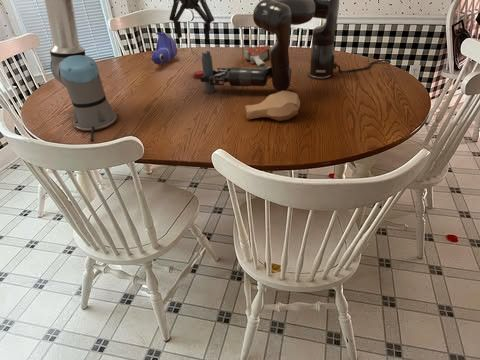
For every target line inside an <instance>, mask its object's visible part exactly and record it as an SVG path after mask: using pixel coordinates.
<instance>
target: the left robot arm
mask: <svg viewBox="0 0 480 360" xmlns="http://www.w3.org/2000/svg"><path fill="white" fill-rule="evenodd" d="M44 3H45V9H46V14H47V19H48V24H49V29H50V35H51V40H52V46H51V47H50V48H49V53H50V59H51V60H50V62H49V66H50V72H51V74H52V76H53V77H54V78H55V79H56V80H57V81H58V82H59V83H60V84H61V85H63V86H64V87H65V88H66V90H67V93H68V95H69V99H70V101H71V104H72V108H73V114H72V117H73V118H72V119H73V125H74V128H75V129H76V131H78V132H84V133H90V142H93V141H94V132H99V131H102V130H105V129H107V128H110V127H111V126H113V125H115V124H116V122H117V121H118V116H117V114H116V111H115V110H114V108H113V107H112V105H111V103H110V102H109V101H108V99H107V96H106V92H105V89H104V87H103V86H104V85H103V83H102V79H101V75H100V71H99V67H98V65H97V63H96V60H95V59H94V58H93V57H91V56H89V55H86V50H85V48H84V47H83V46H82V45H81V44H80V40H79V33H78V28H77V21H76V15H75V8H74V7H75V6H74V2H73V0H44ZM172 3H173V4H172V7H171V10H170V14H169V17H168V18H169V21H171V22H173V25H174V30H175V31H176V36H177V39H180V38H182V37H183V33H182V27H181V26H182V25H181V21H180V18H181V16H182V15H183V13H184V12H185V9H186V10H194V11H196V12H197V14H198V15H199V16H200V18H201V19H202V20H203V22H204V23H203V28H204V40H205V41H208V40H209V39H210V32H211V29H212V28H211V23H213V22H214V21H215V18H214V16H213V14H212V12H211V10H210V8H209V5H208V3H207V0H173V2H172ZM180 3H181V4H180ZM199 3H200V4H199ZM179 4H180V7H179ZM178 7H179V9H178ZM201 7H202V8H201Z"/></svg>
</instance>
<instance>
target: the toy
mask: <svg viewBox="0 0 480 360" xmlns="http://www.w3.org/2000/svg"><path fill="white" fill-rule="evenodd" d="M155 35H156V36H157V35H158V38H157V39H156V45H155V51H151V53H152V54H151V56H150V60H151V61H152V62H153V63H154V64H156V65H157V67H158V68H159V69H161V66H162V64H167V63H169V62H171V61H173V60H174V59H175V57H177V55H178V46H177V43H176V41H175V39H174V38H173V37H172V36H171V35H170V36H168V35H167V34H166V32H164V31H162V32H159V31H158V32H156V33H155Z"/></svg>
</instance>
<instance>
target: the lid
mask: <svg viewBox="0 0 480 360" xmlns="http://www.w3.org/2000/svg"><path fill="white" fill-rule="evenodd" d="M193 75H194V78H195V79H200V77H201V76H204V75H203V70H197V71H194V72H193Z"/></svg>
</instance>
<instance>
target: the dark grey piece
mask: <svg viewBox="0 0 480 360" xmlns="http://www.w3.org/2000/svg"><path fill="white" fill-rule="evenodd" d="M201 66H202V71H203V75H204V76H208V77H210V76H214V75H213V70H214V66H213V57H212V55H211V51H210V50H204V51H202V52H201ZM213 81H214V80H213ZM203 84H204V93H206V94H212V93H216V87H215V86H216V85H210V82H203Z"/></svg>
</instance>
